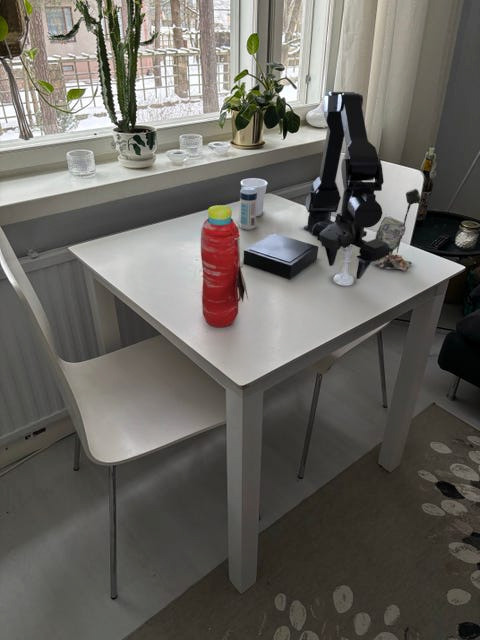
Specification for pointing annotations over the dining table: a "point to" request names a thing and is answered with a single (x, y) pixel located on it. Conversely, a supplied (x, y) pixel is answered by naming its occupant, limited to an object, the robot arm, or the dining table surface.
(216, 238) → the water bottle
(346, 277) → the chess piece
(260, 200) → the dixie cup
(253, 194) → the white supplement bottle
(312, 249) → the stand
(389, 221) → the grey mottled stone figure
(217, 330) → the dining table surface
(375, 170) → the robot arm
